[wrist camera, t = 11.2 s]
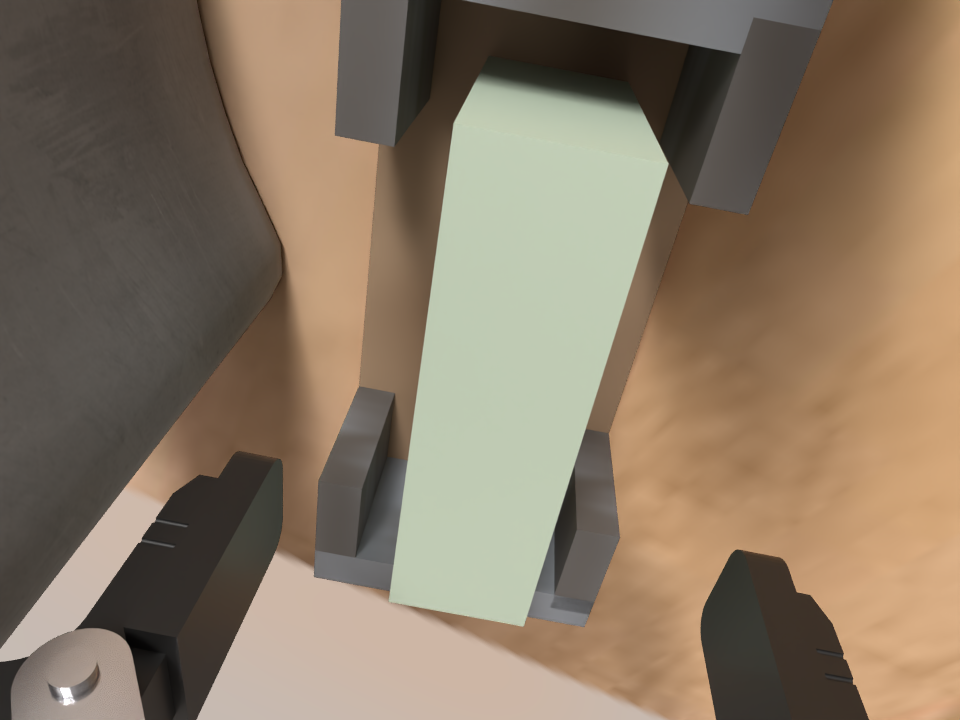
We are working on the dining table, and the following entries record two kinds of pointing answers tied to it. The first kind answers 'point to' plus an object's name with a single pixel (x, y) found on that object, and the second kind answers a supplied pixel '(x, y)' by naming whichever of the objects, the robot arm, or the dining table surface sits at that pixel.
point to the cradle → (419, 198)
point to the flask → (109, 261)
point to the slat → (518, 327)
